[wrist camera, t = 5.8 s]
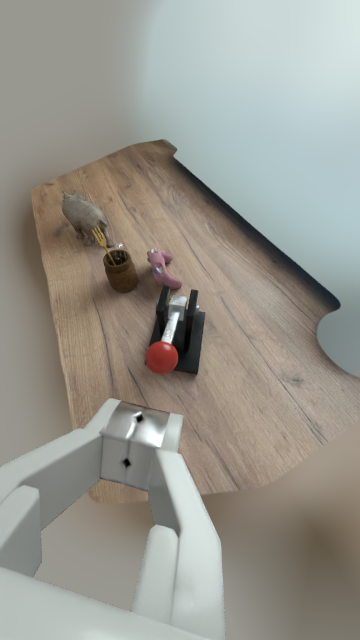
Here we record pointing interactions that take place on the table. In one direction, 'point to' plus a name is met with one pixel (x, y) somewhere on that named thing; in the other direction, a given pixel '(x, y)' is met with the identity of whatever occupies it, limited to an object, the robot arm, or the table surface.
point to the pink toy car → (162, 268)
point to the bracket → (181, 331)
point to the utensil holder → (118, 266)
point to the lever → (167, 340)
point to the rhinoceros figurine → (85, 217)
